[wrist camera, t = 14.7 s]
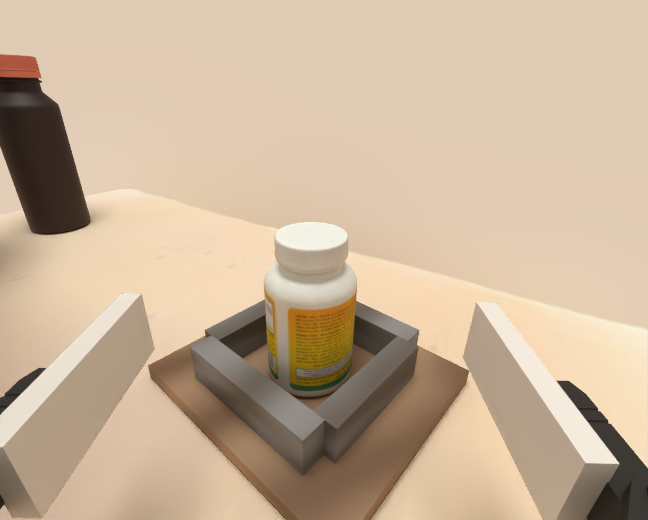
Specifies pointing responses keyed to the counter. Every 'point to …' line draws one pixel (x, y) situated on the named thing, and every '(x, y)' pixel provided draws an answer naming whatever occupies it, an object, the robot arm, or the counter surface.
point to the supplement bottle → (310, 309)
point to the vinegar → (38, 150)
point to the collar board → (314, 412)
